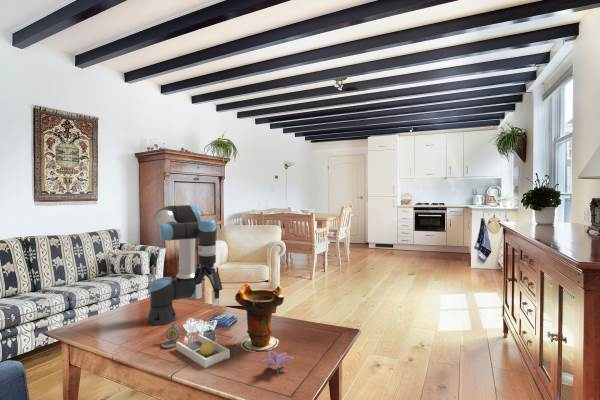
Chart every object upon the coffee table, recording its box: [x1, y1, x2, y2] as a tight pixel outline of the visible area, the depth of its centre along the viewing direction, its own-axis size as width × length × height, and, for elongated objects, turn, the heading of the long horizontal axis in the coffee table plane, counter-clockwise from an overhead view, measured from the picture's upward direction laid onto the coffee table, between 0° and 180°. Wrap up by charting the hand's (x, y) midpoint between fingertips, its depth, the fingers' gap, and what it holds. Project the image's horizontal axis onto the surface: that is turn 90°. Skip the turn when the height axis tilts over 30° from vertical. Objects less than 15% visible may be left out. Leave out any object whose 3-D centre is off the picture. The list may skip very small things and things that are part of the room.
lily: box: [261, 350, 295, 378], centre depth 133 cm, size 12×12×10 cm
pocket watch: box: [161, 322, 181, 349], centre depth 157 cm, size 8×8×10 cm
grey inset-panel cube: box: [203, 328, 216, 341], centre depth 163 cm, size 4×4×4 cm
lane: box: [175, 333, 231, 369], centre depth 149 cm, size 24×12×4 cm, turn 48°
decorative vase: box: [234, 282, 285, 353], centre depth 159 cm, size 21×23×28 cm
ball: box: [200, 341, 214, 356], centre depth 146 cm, size 6×6×6 cm
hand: (207, 301), depth 149 cm, fingers open, 13 cm apart
